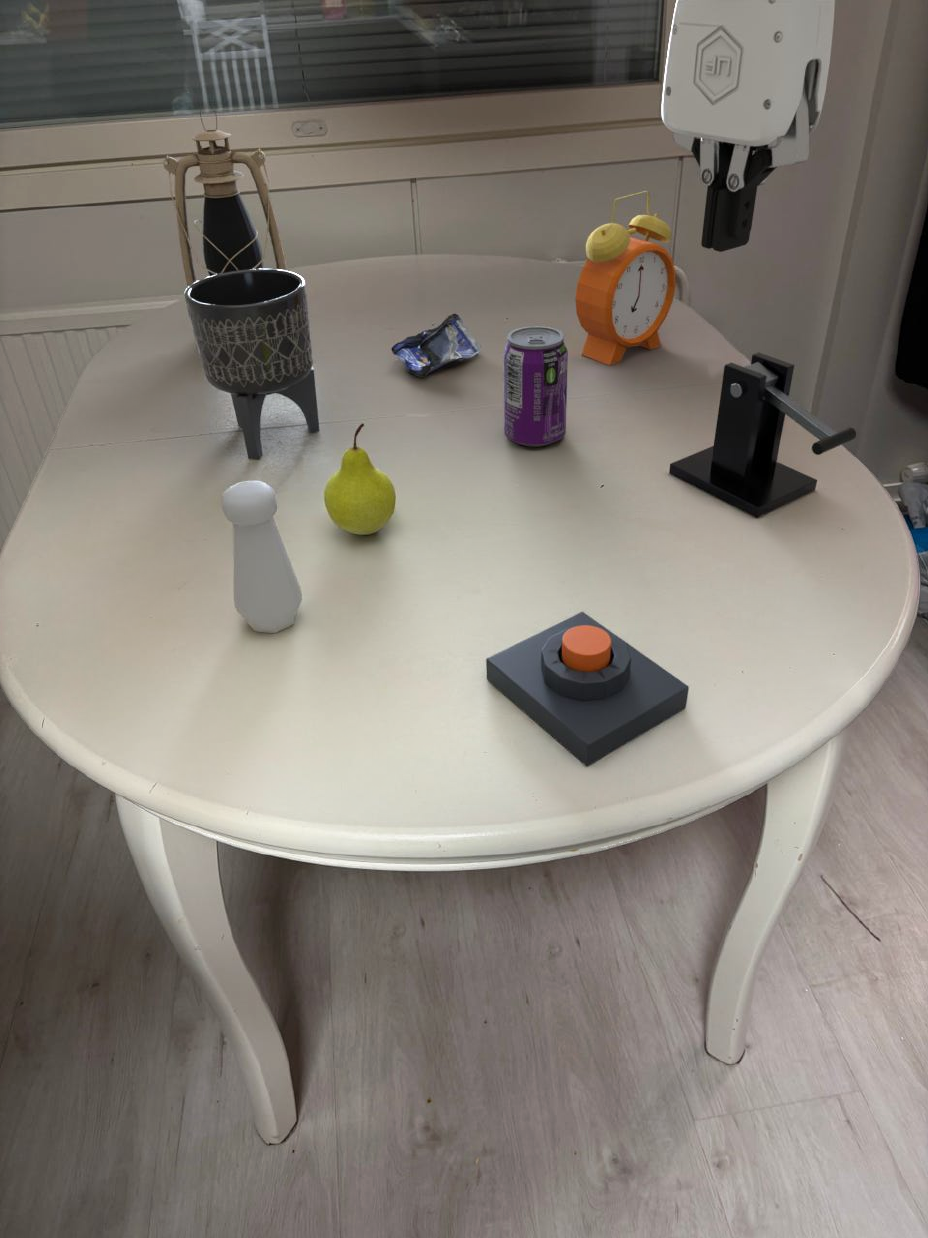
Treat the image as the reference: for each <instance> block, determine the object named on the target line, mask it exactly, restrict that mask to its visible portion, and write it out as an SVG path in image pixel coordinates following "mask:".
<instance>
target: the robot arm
mask: <svg viewBox="0 0 928 1238" xmlns="http://www.w3.org/2000/svg"><path fill="white" fill-rule="evenodd" d="M835 5H836V0H676V2H675V7H674V12H673V17H672V23H671V30H670V34H669V42H668V48H667V55H666V56H667V57H666V62H665V71H664V78H663V88H662V97H661V99H662V100H661V119H662V122H663V124H664V126H665V127H666V128H667V129H668V130H669V131H670V132H671V131H672V132H673V134H672V140H673V143H674V144H675V145H677V146H679V147H681V148H682V149H684V150H685V151H687V152H689V153H692V155H693V157H694V158H695V161H696V162H697V165H698V167H699V180H700V183H701V184H702V186H704V187H707V188H706V196H705V207H704V213H703V214H704V215H703V224H702V233H701V240H700V241H701V242H700V244H701V247H702V248H704V249H708V250H710V249H712V250H713V251H715V252H719V253H722V252H723V253H724V252H725V251H729V250H732V249H737V248H740V247H743V246H745V245H747V244H748V243H749V241H750V238H751V237H750V236H751V231H752V227H753V219H754V212H755V206H756V198H757V193H758V191H757V190H758V187H759V186H762V185H764V184H765V183H766V182H767V180H768V177H769V176H770V175H771V174H772V173H773V172H774V171H775V170H776V169H777V168H779V167H788V166H793V165H797V164H801V163H804V162H807V160H809V157H810V134H812V133H814V131H815V130H816V129H817V126H818V124H819V121H820V118H821V115H822V110H823V106H824V102H825V97H826V91H827V85H828V78H829V76H828V75H829V72H830V71H829V70H830V62H831V55H832V44H833V35H834V25H835V23H834V21H835V8H836V7H835ZM779 138H780V140H779ZM778 140H779V142H778ZM777 143H778V144H777Z"/></svg>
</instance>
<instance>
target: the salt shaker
mask: <svg viewBox="0 0 928 1238" xmlns="http://www.w3.org/2000/svg"><path fill="white" fill-rule="evenodd" d="M221 506H222V511H223V515H224V517H225V519H226V520H227V521H228V522H230V523H231V524H232V532H233V533H232V545H233V546H232V547H233V548H232V550H233V551H232V555H233V557H232V558H233V559H232V560H233V565H232V566H233V568H232V569H233V603H234V608H235V610H236V612H237V613H238V614H239V615H240V616H241V618H243V619H244V620H245V621H246V622H247V624H249V626H250V627H251V628H252V629H253V631H254V632H257V633H267V634H269V633H270V634H277V633H279V632H281V631H283V630H285V629H288V628H289V627H291V626H293V625H294V623H295V619H296V615H297V613H298V611H299V609H300V607H301V605H302V601H303V593H302V588H301V584H300V582H299V579H298V577H297V575H296V572H295V569H294V567H293V565H292V562H291V559H290V556H289V554H288V552H287V549H286V546H285V544H284V542H283V539H282V537H281V533H280V531H279V529H278V526H277V523H276V521H275V518H274V516H275V515H276V513H277V510H278V502H277V497H276V493H275V491H274V488H273V487H271V485H269V484H267V483H265V482H264V481H260V480H245V481H240V482H236V483H234V484H233V485H231V486H229V487H228V488H227V489H226V490H225V492H224V493H223V494H222V495H221Z"/></svg>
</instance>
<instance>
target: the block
mask: <svg viewBox="0 0 928 1238" xmlns="http://www.w3.org/2000/svg"><path fill="white" fill-rule="evenodd" d="M582 625H589V626H595V627H598V628H601V629H603V630H604V631H605V632H607V633H608V635H609V636H610V638H611V652H610V661H609V663H608V665H607V666H606V667H605V668H604V669H602V670H600V671H596V672H586V673H584V672H580V671H576V670H572V669H570V668H568V667H567V666H566V665H565V664H564V662H563V660H562V639H563V636H564V634H565V633H566V632H567V631H568V630H569V629H571V628H573V627H576V626H582ZM485 667H486V669H485V670H486V681H488V682H489V683H490V684H491V685H493V686H494V688H496V689H497V690H498V691H499V692H500V693H502V694H503V695H504V696H505V697H506V698H507V699H509V700H510V701H511V702H512V703H513V704H514V705H516V706H517V707H518V708H519V709H520V710H521V711H523V713H525V714H526V715H527V716H528V717H529V718H531V719H532V720H533V721H534V722H535V723H536V724H537V725H538V726H540V727H541V728H542V729H543V730H544V731H545V732H547V734H549V735H550V737H552V738H553V739H554V740H556V741H557V742H558V743H559V744H560V745H562V746H563V747H564V748H565V749H566V750H567V751H568V752H570V753H571V754H572V755H573V756H574V757H575V758H576V759H578V760H579V761H580V762H581V763H582V764H583V765H585V766H586V767H589V766H590V765H592V764H593V763H596V762H597V761H599V760H601V759H602V758H604V757H605V756H608V755H609V754H611V753H612V752H614V751H615V750H617V749H619V748H621V747H623V746H624V745H626V744H628V743H629V742H631V741H633V740H634V739H636V738H638V737H639V736H641V735H643V734H645V733H646V732H648V731H649V730H651V729H653V728H654V727H656V726H657V725H659V724H662V723H663V722H665V721H666V720H668V719H670V718H672V717H673V716H675V715H677V714H679V713H680V712H681V711H683V710H685V709H687V702H688V697H689V689H690V686H689V685H687V684H686V683H685V682H683V681H681V680H680V679H679V678H678V677H676V676H675V675H674V674H672V673H671V672H669V671H668V670H666V669H665V668H664V667H662V666H660V665H659V664H658V663H656V662H655V661H653V660H652V659H650V658H649V657H648V656H646V655H645V654H643V653H642V652H641V651H639V650H637V649H636V648H635V647H633V646H632V645H631V644H629V643H628V642H627V641H625V640H623V638H621V637H619V636H618V635H617V634H615V633H614V632H613V631H611V630H610V629H608V628H607V627H606V626H604V625H602V624H601V623H600V622H598V621H597V620H596V619H594V618H592V617H591V616H590V615H588V614H587V613H585V612H584V611H580V612H578V613H576V614H574V615H572V616H570V617H568V618H566V619H564V620H562V621H560V622H557V623H556V624H554V625H552V626H549V627H548V628H546V629H544V630H542V631H539V632H538V633H536V634H533V635H531V636H530V637H528V638H526V639H523V640H521V641H519V642H518V643H515V644H513V645H511V646H509V647H506V648H505V649H503V650H501V651H499V652H497V653H495V654H492V655H490V656H489V657H486V659H485Z"/></svg>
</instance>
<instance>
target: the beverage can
mask: <svg viewBox="0 0 928 1238" xmlns="http://www.w3.org/2000/svg"><path fill="white" fill-rule="evenodd" d="M506 336H507V338H506V340H507V342H506V345H505V347H504V349H503V353H502V359H503V360H502V361H503V364H502V365H503V368H502V369H503V373H502V374H503V433H504V435H505V437H506V438H507V439H509V440H510V441H512V442H514V443H517V444H519V445H521V446H526V447H532V448H533V447H534V448H535V447H544V446H548V445H550V444H552V443H554V442H557V441H559V440H561V439H562V438H564V436H565V435H566V432H567V403H568V402H567V401H568V399H567V397H568V368H569V367H568V366H569V365H568V363H569V351H568V348H567V345H566V344H565V342H564V341H565V334H564V333H563V331H561V330H559V329H557V328H554V327H550V326H544V325H543V326H542V325H532V326H531V325H530V326H523V327H519V328H516V329H513V330H511V331H509V333H508V334H507V335H506Z"/></svg>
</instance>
